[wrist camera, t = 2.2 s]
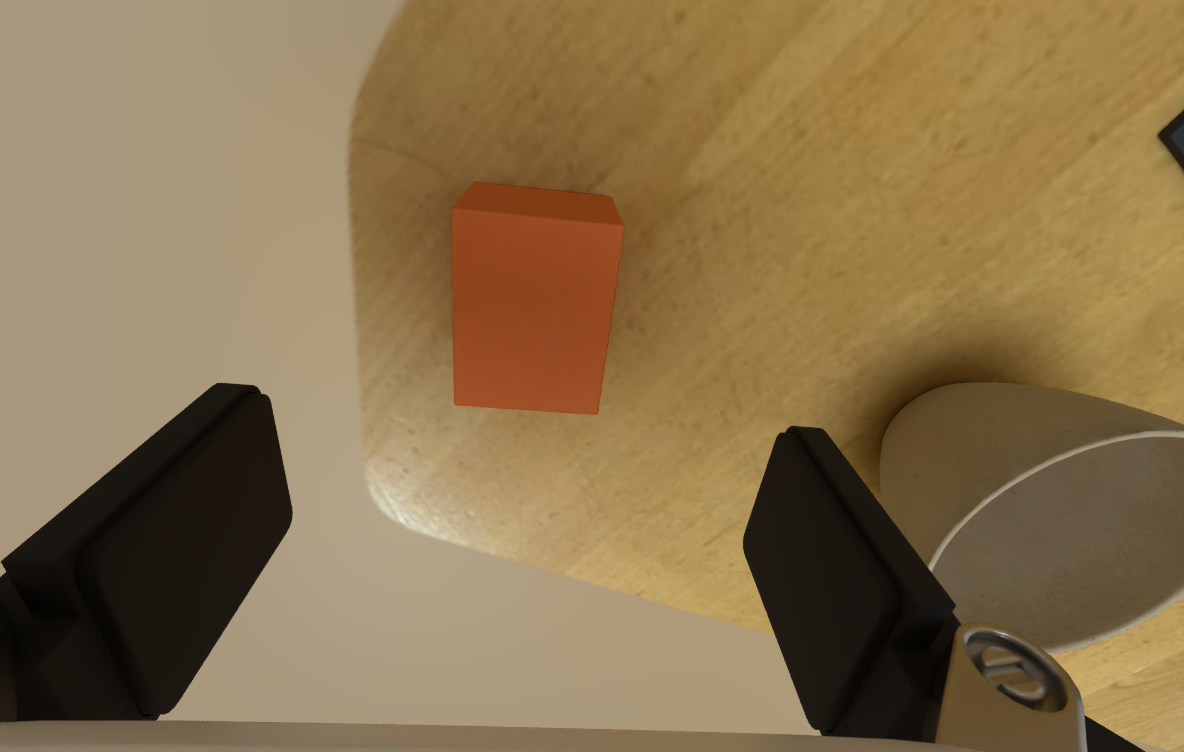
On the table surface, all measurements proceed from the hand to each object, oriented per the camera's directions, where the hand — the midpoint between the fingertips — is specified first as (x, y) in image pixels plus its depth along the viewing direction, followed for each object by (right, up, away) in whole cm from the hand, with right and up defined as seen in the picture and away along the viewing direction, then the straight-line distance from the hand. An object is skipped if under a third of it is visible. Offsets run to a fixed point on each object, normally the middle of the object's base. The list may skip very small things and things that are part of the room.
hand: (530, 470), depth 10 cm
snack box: (-1, +5, +9) cm, 10 cm away
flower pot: (+16, -1, +13) cm, 21 cm away
